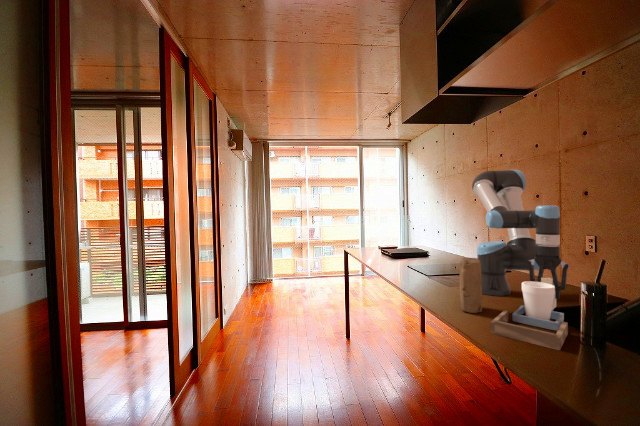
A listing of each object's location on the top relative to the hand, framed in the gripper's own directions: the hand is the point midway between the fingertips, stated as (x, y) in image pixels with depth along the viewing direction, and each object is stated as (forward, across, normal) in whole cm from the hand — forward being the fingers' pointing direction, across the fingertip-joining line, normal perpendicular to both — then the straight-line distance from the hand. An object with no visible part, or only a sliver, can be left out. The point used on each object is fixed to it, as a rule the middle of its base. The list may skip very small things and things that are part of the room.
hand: (547, 305), depth 120 cm
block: (+2, -22, -20) cm, 30 cm away
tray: (+1, 0, -11) cm, 11 cm away
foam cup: (+2, 0, -18) cm, 18 cm away
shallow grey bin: (+1, 0, -31) cm, 31 cm away
